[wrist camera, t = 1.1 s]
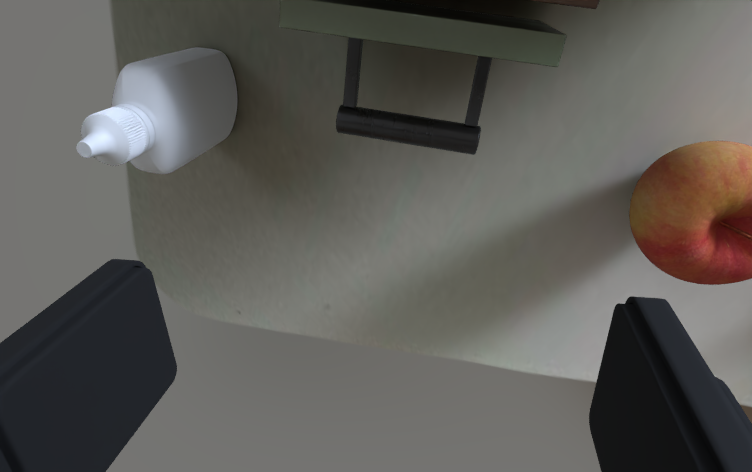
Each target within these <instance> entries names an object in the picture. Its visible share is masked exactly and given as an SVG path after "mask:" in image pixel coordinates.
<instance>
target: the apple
mask: <svg viewBox="0 0 752 472" xmlns="http://www.w3.org/2000/svg"><path fill="white" fill-rule="evenodd" d="M629 217H630V225H631V230H632V233H633V236H634V238H635V241H636V243H637V244H638V246H639V248H640V249H641V251H642V252H643V254H644V255H645V256H646V257H647V258H648V259H649V260H650V261H651V262H652V263H653V264H654V265H655V266H656V267H658V268H659V269H661V270H662V271H664V272H665V273H667V274H669V275H671V276H673V277H675V278H678V279H681V280H684V281H687V282H692V283H697V284H709V285H713V284H728V283H735V282H740V281H744V280H748V279H751V278H752V147H751V146H748V145H745V144H741V143H735V142H728V141H708V142H699V143H694V144H690V145H686V146H683V147H680V148H678V149H675V150H673V151H671V152H669V153H667V154H665V155H664V156H662V157H661V158H659V159H658V160H657V161H655V162H654V163H653V164H652V165H651V166H650V167H649V168H648V169H647V170H646V171H645V172H644V174H643V175H642V176H641V178H640V179H639V181H638V183H637V185H636V187H635V189H634V192H633V195H632V198H631V203H630V211H629Z"/></svg>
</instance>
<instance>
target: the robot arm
mask: <svg viewBox="0 0 752 472" xmlns="http://www.w3.org/2000/svg"><path fill="white" fill-rule="evenodd" d="M176 371H177V365H176V361H175V357H174V353H173V350H172V346H171V342H170V339H169V335H168V331H167V327H166V323H165V320H164V316H163V313H162V308H161V305H160V301H159V297H158V294H157V290H156V286H155V282H154V278H153V275H152V272H151V271H150V270H149V269H147V268H146V267H145V265H144V264H143V263H142V262H140V261H134V260H120V259H112V260H110V261H108V262H107V263H105V264H104V265H103V266H101V267H100V268H99V269H97V270H96V271H95V272H93V273H92V274H91V275H89V276H88V277H87V278H86V279H84V280H83V281H82V282H80V283H79V284H78V285H76V286H75V287H74V288H72V289H71V290H70V291H68V292H67V293H66V294H64V295H63V296H62V297H61V298H59V299H58V300H57V301H55V302H54V303H53V304H51V305H50V306H49V307H47V308H46V309H45V310H43V311H42V312H41V313H39V314H38V315H37V316H35V317H34V318H33V319H31V320H30V321H29V322H28V323H26V324H25V325H24V326H23V327H21V328H20V329H18V330H17V331H16V332H14V333H13V334H12V335H10V336H9V337H8V338H7V339H5V340H4V341H2V342H1V343H0V472H106V470H107V469H108V468H109V466H110V465H111V464H112V462H113V461H114V460H115V458H116V457H117V456H118V454H119V453H120V452H121V450H122V449H123V448H124V446H125V445H126V444H127V442H128V441H129V440H130V438H131V437H132V436H133V435H134V433H135V432H136V431H137V429H138V428H139V427H140V425H141V424H142V422H143V421H144V420H145V418H146V417H147V416H148V414H149V413H150V412H151V410H152V409H153V408H154V407H155V405H156V404H157V403H158V401H159V400H160V399H161V397H162V396H163V395H164V393H165V392H166V391H167V389H168V388H169V386H170V385H171V384H172V382H173V381H174V379H175V376H176ZM589 423H590V430H591V434H592V438H593V441H594V445H595V449H596V453H597V456H598V460H599V464H600V468H601V471H602V472H752V423H751V422H750V420H749V419H748V417H747V416H746V414H745V413H744V411H743V409H742V408H741V406H740V405H739V403H738V402H737V400H736V398H735V397H734V395H733V394H732V392H731V391H730V389H729V388H728V387H727V385H726V384H725V383H724V382H723V381H722V380H720V379H718V378H716V377H714V375H713V373H712V372H711V370H710V369H709V367H708V365H707V364H706V362H705V361H704V359H703V357H702V356H701V354H700V353H699V351H698V349H697V348H696V346H695V345H694V343H693V341H692V340H691V338H690V337H689V335H688V333H687V332H686V330H685V329H684V327H683V325H682V324H681V322H680V321H679V319H678V317H677V316H676V314H675V313H674V311H673V309H672V308H671V306H670V305H669V303H668V302H667V301H666V300H665V299H658V298H644V297H629V298H628V299H627V301H626V303H625V304H617V305H616V306H615V309H614V312H613V317H612V321H611V325H610V329H609V333H608V337H607V341H606V346H605V350H604V354H603V358H602V362H601V366H600V371H599V375H598V379H597V383H596V387H595V391H594V396H593V400H592V404H591V408H590V414H589Z"/></svg>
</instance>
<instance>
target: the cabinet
mask: <svg viewBox="0 0 752 472" xmlns="http://www.w3.org/2000/svg"><path fill="white" fill-rule="evenodd" d="M530 1H538V2H545V3H553V4H560V5H568V6H576V7H583V8H591V9H596V8H597V7H598V4H599V1H600V0H530Z"/></svg>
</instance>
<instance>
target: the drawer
mask: <svg viewBox="0 0 752 472" xmlns="http://www.w3.org/2000/svg"><path fill="white" fill-rule="evenodd" d="M279 26H280V27H281V28H288V29H295V30H302V31H309V32H316V33H323V34H330V35H337V36H343V37H349V40H348V53H347V65H346V77H345V89H344V102H343V105H340V107H339V110H338V113H337V119H336V129H337V132H338V133H343V134H349V135H356V136H362V137H368V138H374V139H380V140H386V141H392V142H399V143H405V144H411V145H417V146H423V147H429V148H436V149H442V150H448V151H454V152H460V153H466V154H472V155H474V154H475V153H476V151H477V147H478V143H479V138H480V132H481V127H480V126H477V125H478V120H479V116H480V111H481V107H482V102H483V97H484V93H485V88H486V83H487V79H488V74H489V70H490V65H491V60H492V58H497V59H504V60H511V61H517V62H524V63H531V64H538V65H545V66H552V67H558V65H559V61H560V58H561V54H562V51H563V47H564V43H565V40H566V34H564V33H562V32H560V31H558V30H556V29H554V28H552V27H550V26H548V25H547V24H545V23H543V22H541V21H537V20H529V19H522V18H515V17H507V16H500V15H492V14H485V13H478V12H470V11H463V10H456V9H448V8H441V7H433V6H426V5H419V4H411V3H404V2H397V1H389V0H280V24H279ZM363 39H364V40H371V41H378V42H385V43H392V44H399V45H406V46H413V47H420V48H427V49H434V50H441V51H448V52H455V53H462V54H469V55H476V56H478V60H477V65H476V69H475V74H474V79H473V84H472V89H471V94H470V99H469V104H468V109H467V114H466V119H465V124H464V123H457V122H451V121H444V120H438V119H432V118H425V117H419V116H413V115H406V114H400V113H393V112H387V111H381V110H374V109H368V108H362V107H356V106H357V100H358V90H359V79H360V68H361V58H362V47H363Z"/></svg>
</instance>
